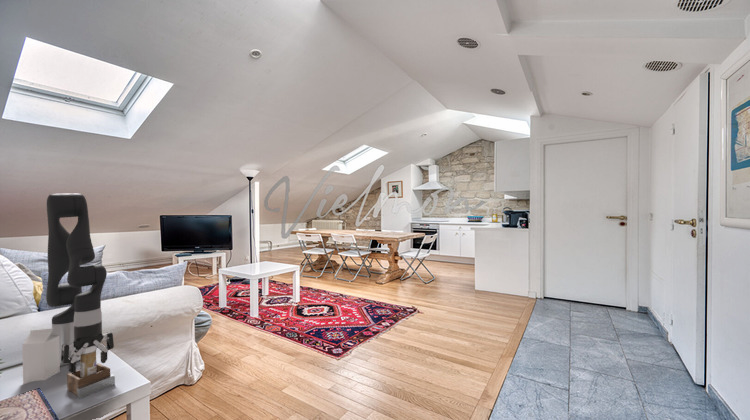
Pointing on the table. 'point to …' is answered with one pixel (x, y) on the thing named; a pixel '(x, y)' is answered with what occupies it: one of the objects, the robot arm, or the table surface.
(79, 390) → the rail
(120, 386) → the table surface
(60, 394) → the table surface
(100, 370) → the block
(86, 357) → the sprinkles bottle
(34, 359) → the milk carton
